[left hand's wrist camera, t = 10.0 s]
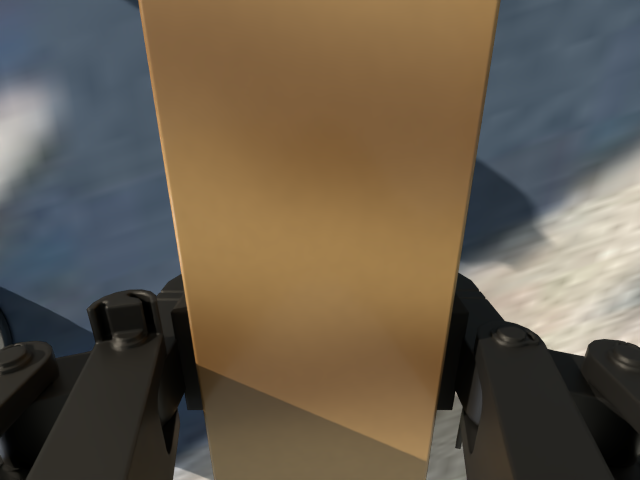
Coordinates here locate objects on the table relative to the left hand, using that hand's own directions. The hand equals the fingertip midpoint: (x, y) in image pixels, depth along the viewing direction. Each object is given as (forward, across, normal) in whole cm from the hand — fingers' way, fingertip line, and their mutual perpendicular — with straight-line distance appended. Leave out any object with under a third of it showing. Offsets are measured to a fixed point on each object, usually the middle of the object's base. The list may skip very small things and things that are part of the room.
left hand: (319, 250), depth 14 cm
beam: (0, 0, -23) cm, 23 cm away
